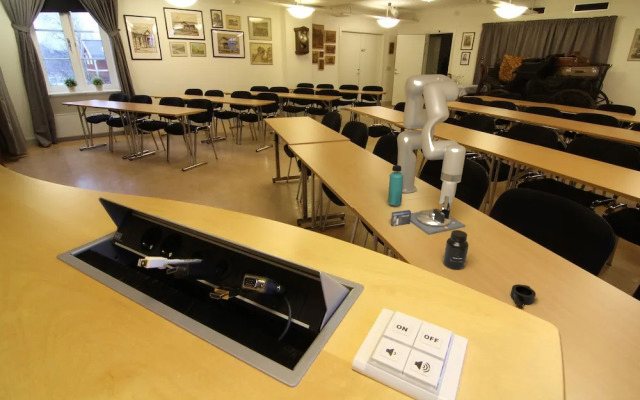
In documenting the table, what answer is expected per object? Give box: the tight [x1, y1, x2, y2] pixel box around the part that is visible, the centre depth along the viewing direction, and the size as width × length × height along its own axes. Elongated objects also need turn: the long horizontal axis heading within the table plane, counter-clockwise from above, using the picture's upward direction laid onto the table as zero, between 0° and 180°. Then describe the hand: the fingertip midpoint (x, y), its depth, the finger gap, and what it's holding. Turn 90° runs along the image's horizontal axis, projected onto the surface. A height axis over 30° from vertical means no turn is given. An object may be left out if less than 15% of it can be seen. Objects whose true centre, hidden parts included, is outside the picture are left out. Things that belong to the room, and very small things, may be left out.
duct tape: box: [509, 284, 537, 308], centre depth 92 cm, size 8×10×3 cm
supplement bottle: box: [442, 229, 470, 270], centre depth 106 cm, size 7×7×12 cm
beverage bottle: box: [387, 164, 403, 206], centre depth 150 cm, size 6×7×20 cm
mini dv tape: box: [390, 209, 412, 227], centre depth 135 cm, size 8×2×6 cm, turn 105°
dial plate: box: [410, 207, 466, 236], centre depth 138 cm, size 18×18×1 cm
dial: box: [416, 208, 452, 227], centre depth 136 cm, size 14×14×5 cm
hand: (444, 217), depth 134 cm, fingers closed
